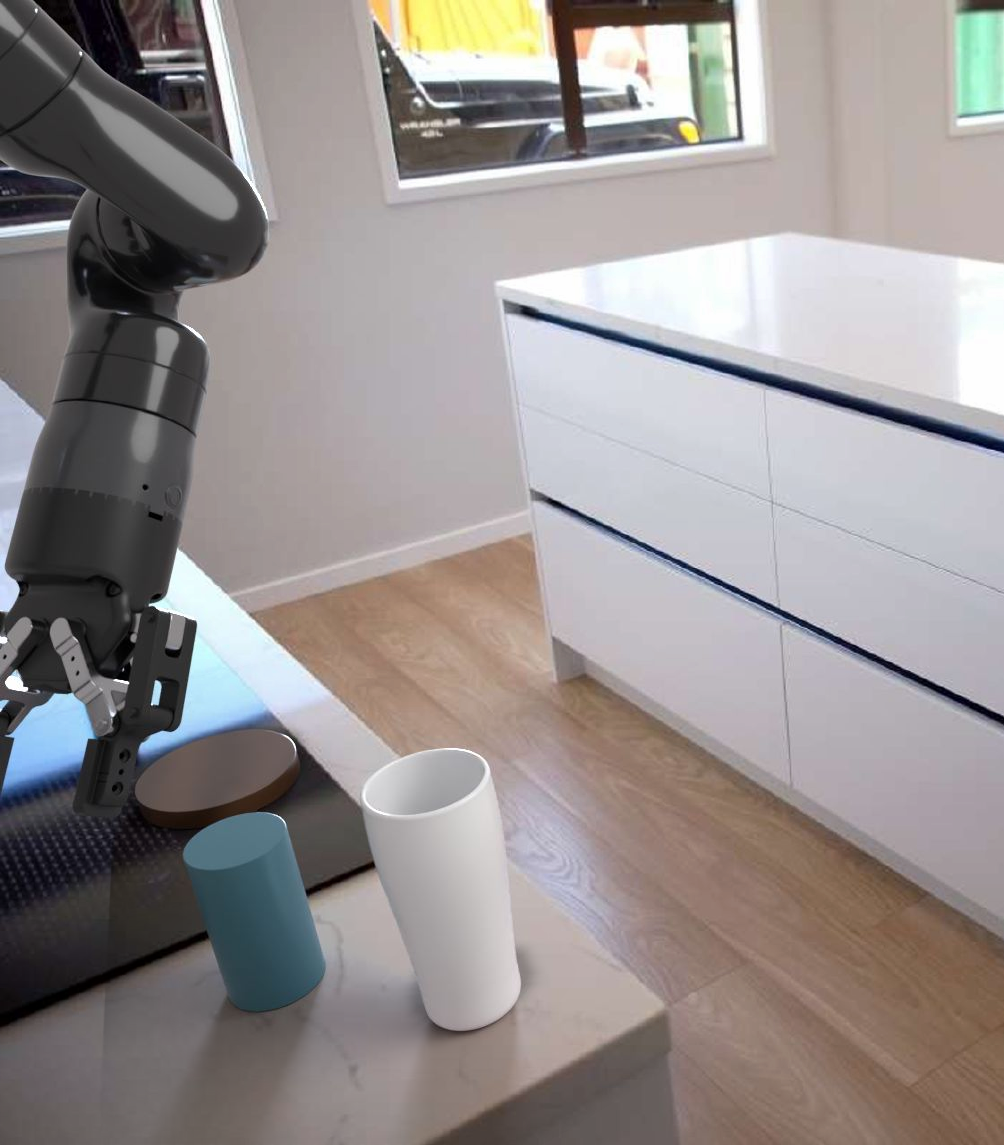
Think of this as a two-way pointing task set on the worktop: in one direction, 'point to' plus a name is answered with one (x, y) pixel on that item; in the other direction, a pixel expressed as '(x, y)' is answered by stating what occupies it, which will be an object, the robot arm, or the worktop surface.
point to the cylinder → (255, 910)
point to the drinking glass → (446, 881)
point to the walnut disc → (217, 778)
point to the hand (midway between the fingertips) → (32, 811)
